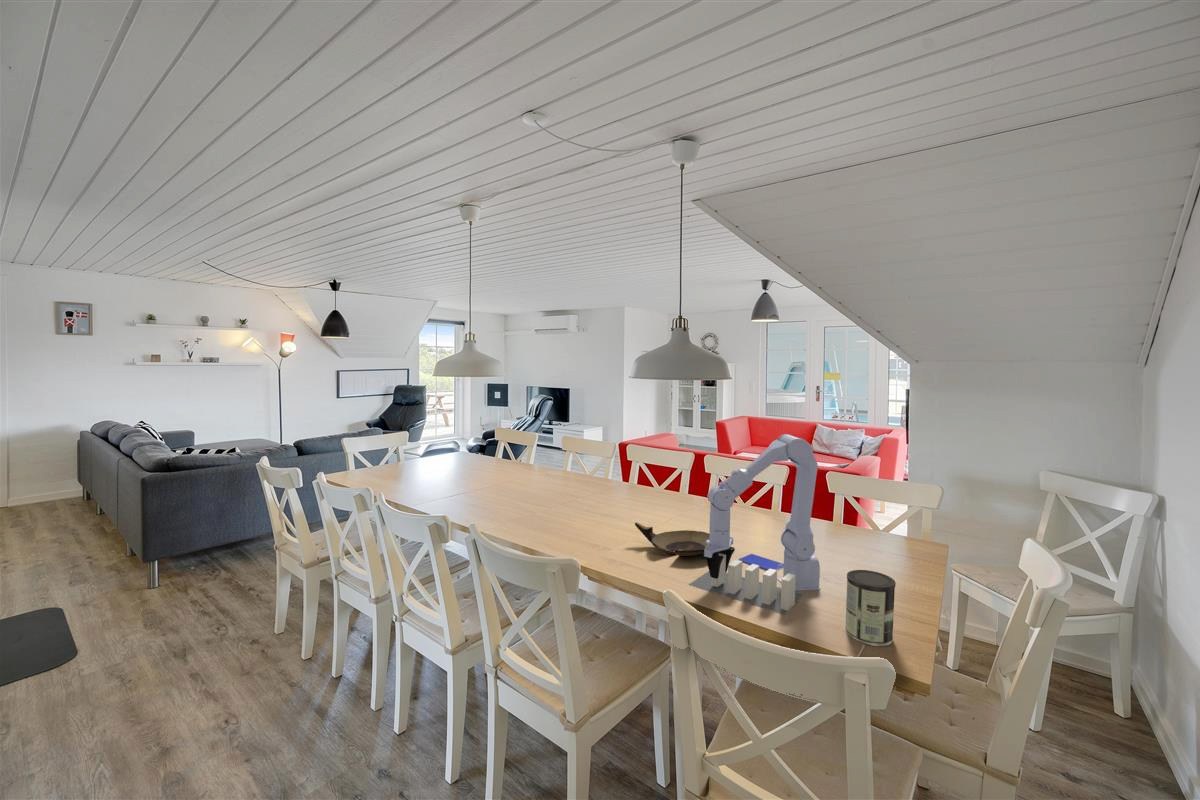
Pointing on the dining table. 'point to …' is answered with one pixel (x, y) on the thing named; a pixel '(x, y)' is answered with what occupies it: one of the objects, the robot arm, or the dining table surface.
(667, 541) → the oil lamp
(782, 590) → the domino
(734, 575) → the domino
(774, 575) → the domino
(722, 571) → the domino
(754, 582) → the domino
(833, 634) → the dining table surface
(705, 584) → the mat
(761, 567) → the hard drive
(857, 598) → the coffee can
